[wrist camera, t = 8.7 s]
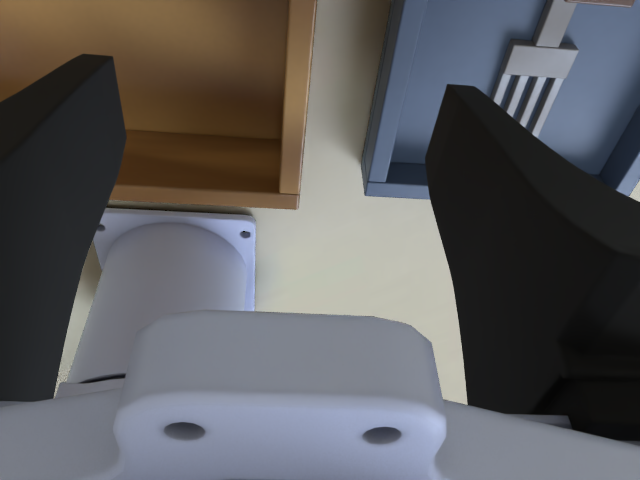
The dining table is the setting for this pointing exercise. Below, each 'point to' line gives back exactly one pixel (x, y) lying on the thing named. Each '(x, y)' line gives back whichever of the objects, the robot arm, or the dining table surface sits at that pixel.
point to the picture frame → (482, 71)
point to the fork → (541, 62)
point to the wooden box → (185, 89)
